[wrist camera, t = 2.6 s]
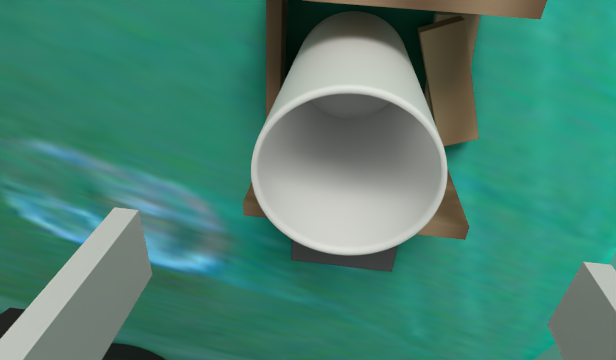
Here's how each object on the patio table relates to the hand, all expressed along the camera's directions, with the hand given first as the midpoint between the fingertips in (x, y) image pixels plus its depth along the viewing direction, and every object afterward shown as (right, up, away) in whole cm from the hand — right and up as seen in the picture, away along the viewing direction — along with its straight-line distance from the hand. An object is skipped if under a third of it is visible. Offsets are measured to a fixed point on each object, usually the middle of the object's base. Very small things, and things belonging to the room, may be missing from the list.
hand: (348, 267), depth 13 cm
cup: (+2, +11, +18) cm, 21 cm away
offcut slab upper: (+9, +10, +17) cm, 21 cm away
